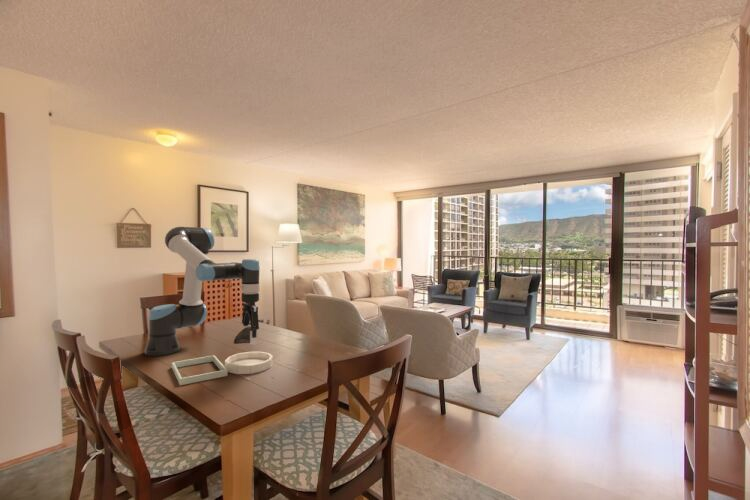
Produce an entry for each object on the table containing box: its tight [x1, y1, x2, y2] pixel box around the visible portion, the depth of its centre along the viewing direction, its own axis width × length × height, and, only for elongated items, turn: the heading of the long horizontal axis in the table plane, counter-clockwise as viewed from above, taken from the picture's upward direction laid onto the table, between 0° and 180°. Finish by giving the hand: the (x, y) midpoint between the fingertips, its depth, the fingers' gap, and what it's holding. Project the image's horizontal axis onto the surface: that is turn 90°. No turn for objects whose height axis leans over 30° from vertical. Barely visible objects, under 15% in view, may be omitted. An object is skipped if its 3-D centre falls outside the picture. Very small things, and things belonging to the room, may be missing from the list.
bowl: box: [224, 351, 274, 375], centre depth 157 cm, size 20×20×4 cm
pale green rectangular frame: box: [171, 354, 229, 386], centre depth 148 cm, size 24×18×2 cm
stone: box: [233, 326, 251, 345], centre depth 156 cm, size 10×8×10 cm
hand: (249, 342), depth 157 cm, fingers closed on stone, 9 cm apart
